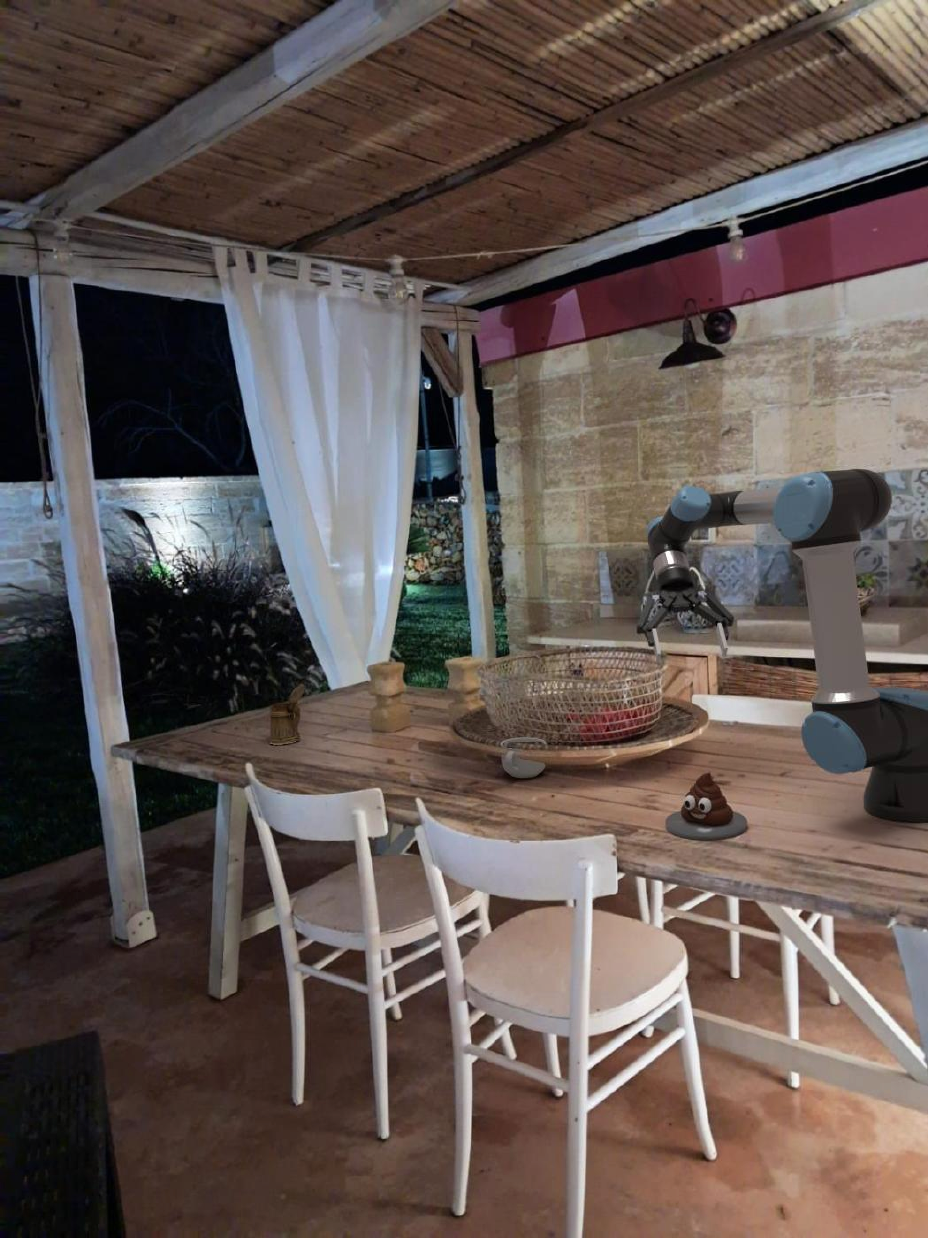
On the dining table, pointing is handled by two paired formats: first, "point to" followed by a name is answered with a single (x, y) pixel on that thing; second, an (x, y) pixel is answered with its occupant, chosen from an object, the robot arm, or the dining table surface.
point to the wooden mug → (286, 718)
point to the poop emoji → (706, 803)
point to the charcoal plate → (705, 828)
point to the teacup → (521, 760)
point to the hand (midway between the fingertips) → (692, 655)
